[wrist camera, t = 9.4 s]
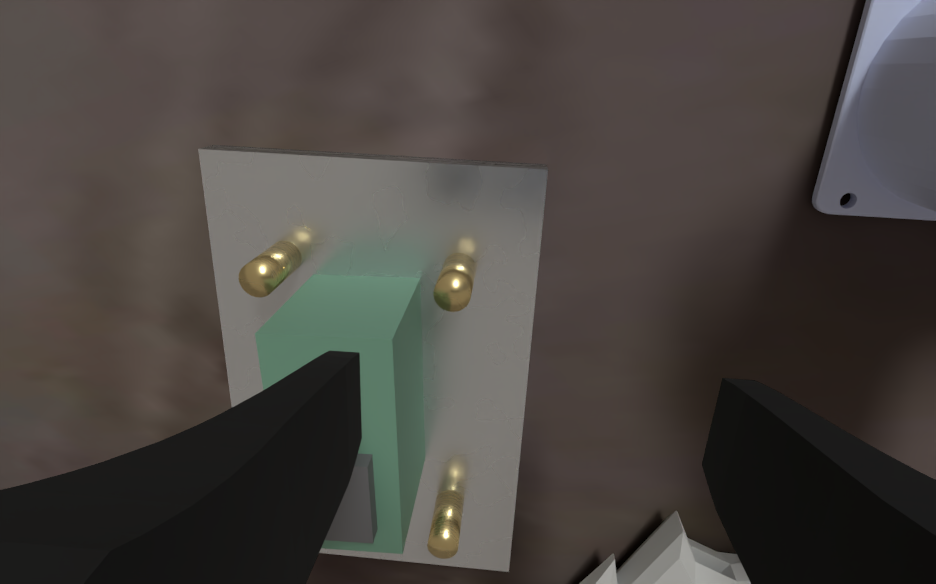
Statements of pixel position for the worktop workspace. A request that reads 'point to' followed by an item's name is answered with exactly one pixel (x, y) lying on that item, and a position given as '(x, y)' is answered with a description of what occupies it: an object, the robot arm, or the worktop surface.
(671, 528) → the wrench
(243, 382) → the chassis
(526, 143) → the worktop surface
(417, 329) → the green block
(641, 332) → the worktop surface
